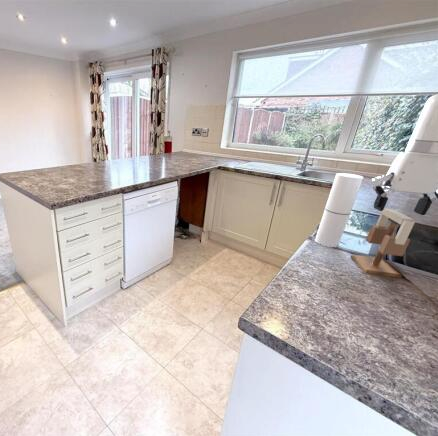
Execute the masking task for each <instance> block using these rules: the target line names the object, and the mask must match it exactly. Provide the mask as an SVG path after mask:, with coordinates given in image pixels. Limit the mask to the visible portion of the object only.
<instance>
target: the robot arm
mask: <svg viewBox="0 0 438 436" xmlns="http://www.w3.org/2000/svg"><path fill="white" fill-rule="evenodd" d="M371 182H372V189H373V191H374V192H375V194H376V198H375V200H374V202H373V209H375V210H377V211H378V212H382V211H383V210H384V209H385V207H386V205H387V203H388V200H389V197H388V196H390V195H391V194H393V193H394V192H399V193H410V194H411V193H412V194H421V195H422V197H420V198H418V201H417V203H416V205H415V207H414V209H413V212H414V213H416V214H419V215H421V216H425V215H426V214H427V213H428V211H429V209H430V207H431V206H432V203H433V202H436V201H437V200H438V94H434V95H432V96H430V97H428V99H427V101H426V102H425V104H424V107H423V108H422V111H421V113H420V116H419V118H418V121H417V122H416V125H415V128H414V129H413V132H412V134H411V136H410V139H409V141H408V143H407V146H406V148H405V150H404V151H400V152H399V154H398V155H397V156H396V157H395V159H394V160H393V162H392V163H391V165H390V167H389V169H388V171H387V173H386V174H385V175H380V176H377V177H374V178H372V179H371Z"/></svg>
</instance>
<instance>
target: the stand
mask: <svg viewBox="0 0 438 436" xmlns="http://www.w3.org/2000/svg"><path fill="white" fill-rule="evenodd" d="M388 221H389V223H388V226H387V227H388V229H387V231H386V233H385V235H393V236H394V234H395V232H396V229H397V227H398V225H399V226H401V225H400V224H399V223H397V222H395V221H394V220H392V219H390V218H388ZM385 235H384V237H385ZM383 239H384V238H383ZM382 241H383V240H382ZM381 243H382V242H381ZM380 246H381V244H379V247H378V249H377V252H376V254H375V256H369V255H368V256H367V255H359V254H350V259H351V258H352V259H353V260H354V261H353V260H352V259H351V260H352V261H353V262H354V263H355V264H356V265H357V266H358V267H359V268H360V269H361V270H362V271H363V272H364V273H365V274H370V275H377V276H384V277H393V278H399V279H402V278H403V276H404V274H403V273H402V272H401V271H399V270H398V269H397V268H396V267H394V266H393V265H392V264H391V263H390V262H389V261H387V260H386V259H385V258H383V257H384V255H385V254H382V253H381V252H380V251H378V250H379V248H380Z"/></svg>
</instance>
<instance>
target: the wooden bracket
mask: <svg viewBox="0 0 438 436" xmlns="http://www.w3.org/2000/svg"><path fill="white" fill-rule="evenodd" d="M388 218H390V219H392V220H394V221H395V222H397V223H399V224H400V225H399V224H398V225H399V226H400V227H399V229H398V231H397V233H396V235H394V234H393V235H385V233H386V231H387V229H388V226H387V224H388V222H389V220H388ZM415 224H416V221H414V218H413V217H409V215H406V214H404V213H403V212H400V211H399V210H396V209H393V208H384V210H383V211H380V215H379V216H378V219H377V221H376V223H375V225H371V227H370V229H369V232H368V233H367V236H366V239H365V241H366V242H367V243H368V244H372V245H379V247H380V248H379V247H378V249H379V250H378V249H377V251H380V252H381V253H382V254H384V255H389V256H396V257H398V256H399V257H404V254H405V252H406V250H407V248H408V246H409V244H410V242H411V239H410V238H409V235H410V233H411V232H412V230H413V227H414V225H415ZM384 235H385V237H384ZM383 238H384V239H383ZM382 240H383V241H382ZM381 242H382V243H381ZM380 244H381V246H380Z"/></svg>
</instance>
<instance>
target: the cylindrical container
mask: <svg viewBox="0 0 438 436" xmlns="http://www.w3.org/2000/svg"><path fill="white" fill-rule="evenodd" d="M363 180H364V176H363V175H360V174H355V173H347V172H337V173H335V177H334V179H333V183H332V185H331V189H330V192H329V195H328V198H327V201H326V204H325V208H324V210H323V214H322V217H321V220H320V223H319V226H318V230H317V232H316V236H315V238H314V241H315V242H316V243H317V244H318V245H320V244H321V245H320V246H322V247H326V246H327V247H326V248H333V247H334V248H338V247H339V246H340V243H341V241H342V238H343V234H344V232H345V229H346V226H347V224H348V221H349V218H350V216H351V213H352V210H353V207H354V205H355V202H356V199H357V196H358V194H359V191H360V188H361V185H362V182H363ZM337 246H338V247H337Z"/></svg>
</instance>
